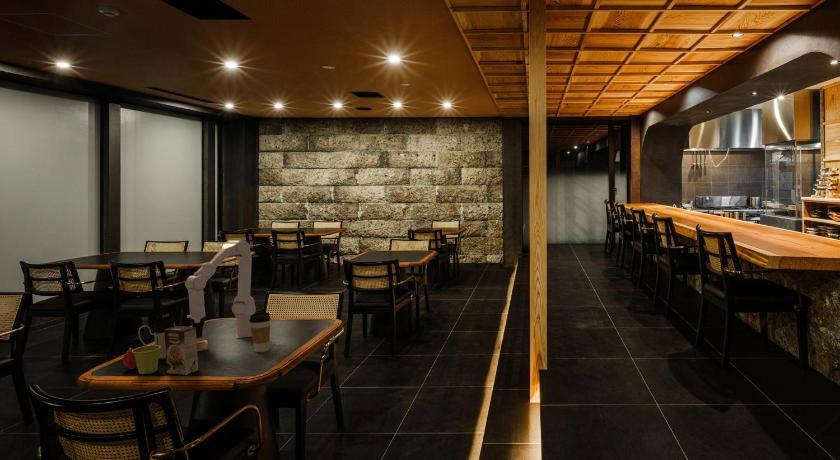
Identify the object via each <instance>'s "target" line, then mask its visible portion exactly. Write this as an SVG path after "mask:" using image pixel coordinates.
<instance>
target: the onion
mask: <svg viewBox="0 0 840 460" xmlns="http://www.w3.org/2000/svg"><path fill="white" fill-rule="evenodd" d="M132 350H134V349H133V348H132V347H130V348H129V349H128V350H127V351H126V352H125V354H124V355H123V357H122V363H123V365H124V366H126V367H127V368H129V369H130V370H134V369H135V368H136V367H137V363H136V359H135V356H134V354H133V353H132Z"/></svg>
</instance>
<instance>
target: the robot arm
mask: <svg viewBox="0 0 840 460" xmlns="http://www.w3.org/2000/svg"><path fill="white" fill-rule="evenodd" d="M231 256H232V257H234V258H235V259H236V260H238V272H237V273H238V276H237V277H238V279H237V295H236V296H235V297H234V299H233V304H232V306H231V312H232V313H233V314H234V317H235V323H236V325H235V326H236V333H235V336H236V339H242V338H249V337H251V338H252V332H251V322H249V321H250V316H251V315H253V314H255V313H256V310H257V308H256V304H255V299H254V297H252V296H251V289H252V288H251V287H252V286H251V284H252V262H253V261H252V260H253V259H252V257H253V256H252V253H251V244H249V243H248V241H247V240H243V239H241V240H237V239H235V240H233V239H229V240H226V241H225V243H224V244H222V247H221V248H220V249H219V251H218V252H217V253H216V255H214V257H213V258H212V259H211V260H210V261H209V262H205V263H202V264H201V265H200V266H201V267H200V268H199V269H198V270H196V271H195V272H193V275H189V276H188V277H187V279H186V280H185V283H184V286H185V288H186V289H187V293H188V300H189V301H188V302H189V315H187V316H186V318H188V319H190V325H191V327H196V338H201V337H202V330H203V328H204V324H205V322H206V321H205V320H206V312H205V311H206V309H205V296H204V295H205V293H204V288H205V287H206V285H207V282H208V280H209V279H210V278H211V277H212V276H214V274H215V273H216V272H217V268H218V266H219V265H220V264H222V263H223V262H224V261H225V260H226V259H227V258H228V257H231Z"/></svg>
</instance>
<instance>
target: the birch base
mask: <svg viewBox="0 0 840 460" xmlns="http://www.w3.org/2000/svg"><path fill="white" fill-rule="evenodd" d="M208 350H209V343H208V340H207V339H204V341H200V342H197V352H201V351H208Z"/></svg>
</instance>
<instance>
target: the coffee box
mask: <svg viewBox="0 0 840 460" xmlns="http://www.w3.org/2000/svg"><path fill="white" fill-rule="evenodd" d="M164 335H165V350H166V358H165V362H166V374H173V375H174V374H175V375H181V374H182V376H183V375H184V376H187V375H189V373H190V374H191V372H192V373H194V372H196V371H198V370H199V367H198V363H199V362H198V351H197V342H196V327H192V326H182V325H180V326H178V325H175V327H171V328H168V329H165V330H164Z"/></svg>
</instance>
